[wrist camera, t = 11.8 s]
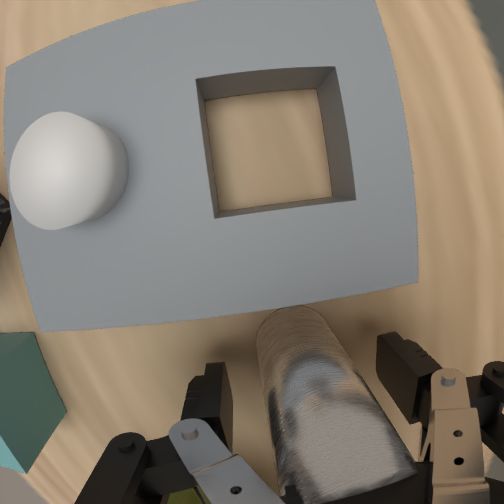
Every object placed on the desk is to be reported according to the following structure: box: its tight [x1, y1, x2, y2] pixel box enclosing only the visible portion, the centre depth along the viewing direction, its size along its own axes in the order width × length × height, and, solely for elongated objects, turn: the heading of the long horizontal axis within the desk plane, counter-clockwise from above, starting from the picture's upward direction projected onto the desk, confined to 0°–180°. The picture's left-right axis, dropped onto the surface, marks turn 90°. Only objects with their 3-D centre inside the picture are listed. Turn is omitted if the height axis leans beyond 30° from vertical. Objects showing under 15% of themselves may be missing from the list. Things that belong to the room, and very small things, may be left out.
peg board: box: [4, 0, 418, 332], centre depth 11 cm, size 12×16×5 cm
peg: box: [256, 306, 418, 504], centre depth 10 cm, size 4×4×10 cm
